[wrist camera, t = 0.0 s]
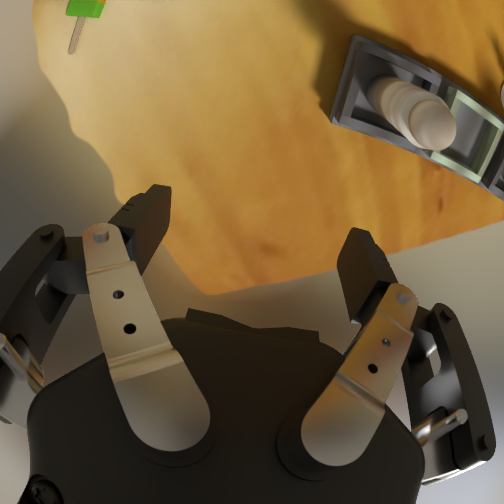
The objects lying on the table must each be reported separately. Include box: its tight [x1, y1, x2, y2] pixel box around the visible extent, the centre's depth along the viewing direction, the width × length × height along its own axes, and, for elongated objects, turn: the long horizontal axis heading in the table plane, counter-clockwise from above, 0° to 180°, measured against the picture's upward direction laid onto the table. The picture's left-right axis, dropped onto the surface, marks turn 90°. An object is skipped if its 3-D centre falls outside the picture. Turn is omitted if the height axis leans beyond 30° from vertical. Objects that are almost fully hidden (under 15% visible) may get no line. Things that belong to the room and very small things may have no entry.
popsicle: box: [66, 0, 106, 55], centre depth 17 cm, size 6×15×2 cm, turn 154°
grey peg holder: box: [329, 35, 504, 201], centre depth 20 cm, size 34×11×15 cm, turn 80°
